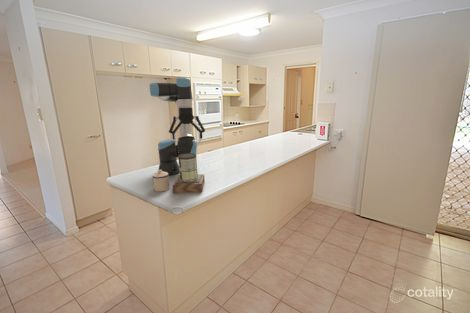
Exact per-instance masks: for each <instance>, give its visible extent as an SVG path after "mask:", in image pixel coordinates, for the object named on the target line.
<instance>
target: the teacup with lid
mask: <svg viewBox="0 0 470 313" xmlns="http://www.w3.org/2000/svg"><path fill="white" fill-rule="evenodd" d="M151 177H152V181H153V190H154V191H155V192H156V193H157V192H159V193H160V192H166V191H168V190H169V189H170V188H171V186H170V179H169V178H170V175H169V174H168V173H167V172H164V171H162V170H157V171H156V172H155V173H153V174H152V176H151Z"/></svg>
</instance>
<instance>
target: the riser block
mask: <svg viewBox="0 0 470 313" xmlns="http://www.w3.org/2000/svg"><path fill="white" fill-rule="evenodd" d="M204 185H205V173H202V174H199V173H198V179H196V180H194V181H188V182H185V181H181V180H180V174H177V176H176V178H175V180H174V182H173V183H172V191H173V192H172V193H173V194H185V193H186V194H187V193H190V194H191V193H202V192H203V190H204Z"/></svg>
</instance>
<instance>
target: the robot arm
mask: <svg viewBox="0 0 470 313" xmlns="http://www.w3.org/2000/svg"><path fill="white" fill-rule="evenodd" d="M175 81H176V82H151V83H150V84H149V93H150V96H151V97H156V98H158V99H159V100H160V101H163V102H169V103H170V102H171V103H172V102H174V104H175V106H177V115H174V116H173V120H172V123H171V126H170V128H169V130H168V133H170V134H172V138H170V139H169V138H168V139H165V140H161V141H159V142H158V144H157V145H158V148H157V149H158V160H159V166H158V170H162V171H164V172H167V173H168V174H169V175H168V176H174V175H179V174H180V169H179V162H178V159H179V158H178V156H179V155H181V154H186V153H194V154H196V155H197V152H198V150H197V149H198V145H199V146H200V145H201V144H202V143H201V142H202V139H203V133H205V131H206V129H205V127H204V125H203V123H202V122H201V120H200V117H199V115H195V116H194V114H193V112H194V111H193V107H192V106H193V100H194V99H193V92H192V87H191V86H192V83H191V79H190V77H177V78H176V79H175ZM193 120H195V121H196V122H197V123H198V125H199V126H198V125H197V124H196V123H195V122H194V121H193ZM177 121H178V124H177V125H176V123H177ZM175 126H176V127H175ZM192 126H193V127H194V128H195V130H196V131H197V132H198V140H197V139H195V136H193V132H192ZM178 130H179V137H177V136H178V135H177V131H178ZM177 158H178V159H177ZM158 170H157V171H158Z"/></svg>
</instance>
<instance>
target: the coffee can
mask: <svg viewBox="0 0 470 313" xmlns="http://www.w3.org/2000/svg"><path fill="white" fill-rule="evenodd" d="M197 163H198V162H197V153H196V154H194V153H186V154H181V155H179V156H178V165H179V169H180V172H179V175H180V180H181V181H185V182H188V181H194V180H196V179H198V175H199V173H198V164H197Z"/></svg>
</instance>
